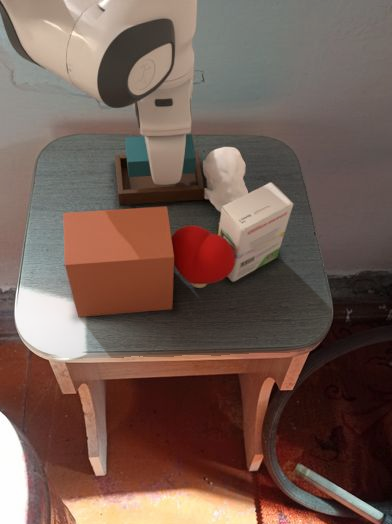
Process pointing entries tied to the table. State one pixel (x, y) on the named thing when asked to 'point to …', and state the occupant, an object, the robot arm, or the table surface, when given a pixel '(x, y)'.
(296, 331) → the table surface
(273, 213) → the ink box
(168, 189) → the brown rectangular tray
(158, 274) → the orange cardboard box
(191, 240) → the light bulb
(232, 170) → the white irregular lump
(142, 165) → the teal rectangular block
